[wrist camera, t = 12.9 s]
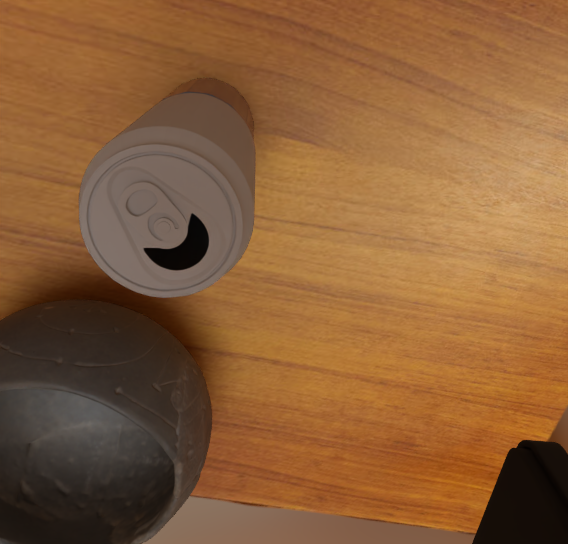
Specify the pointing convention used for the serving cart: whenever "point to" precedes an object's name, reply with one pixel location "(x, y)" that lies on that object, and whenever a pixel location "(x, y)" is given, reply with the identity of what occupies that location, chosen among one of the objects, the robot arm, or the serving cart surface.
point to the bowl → (96, 425)
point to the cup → (218, 96)
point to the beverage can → (171, 197)
